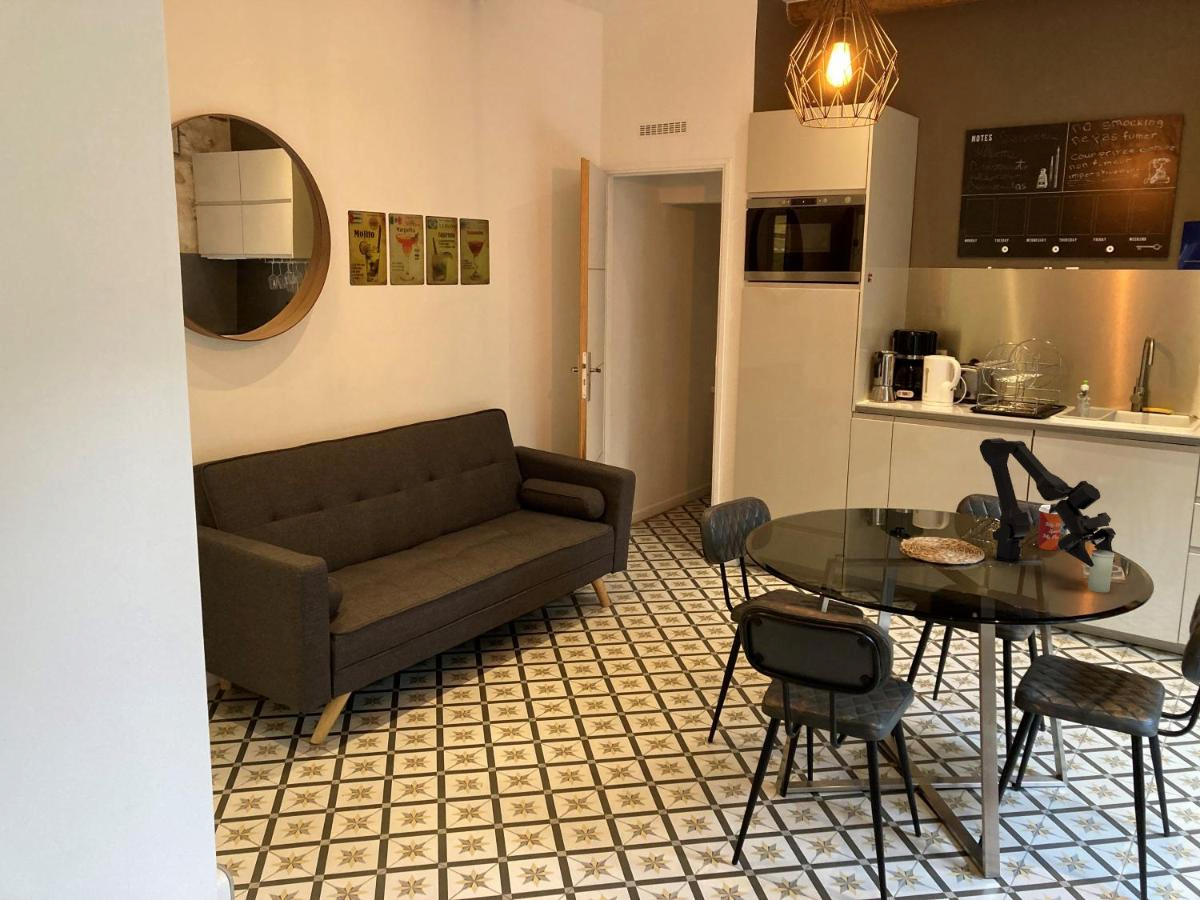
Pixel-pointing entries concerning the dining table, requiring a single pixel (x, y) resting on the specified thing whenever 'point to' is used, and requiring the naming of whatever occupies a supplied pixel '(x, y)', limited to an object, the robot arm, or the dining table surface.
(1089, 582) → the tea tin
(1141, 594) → the dining table surface
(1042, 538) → the paper cup
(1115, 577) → the seat board
